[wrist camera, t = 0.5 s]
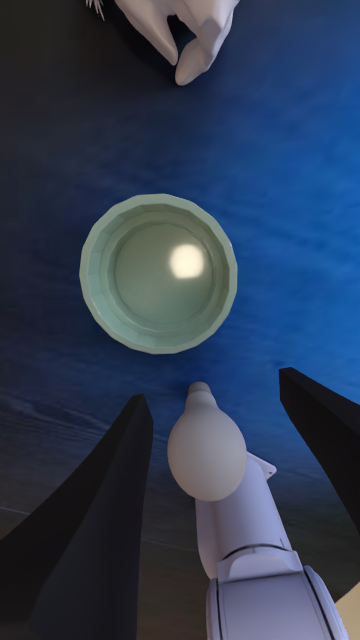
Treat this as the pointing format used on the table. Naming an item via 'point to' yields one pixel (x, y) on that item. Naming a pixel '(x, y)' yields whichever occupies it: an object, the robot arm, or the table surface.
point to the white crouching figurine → (200, 17)
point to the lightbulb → (206, 448)
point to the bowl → (158, 273)
